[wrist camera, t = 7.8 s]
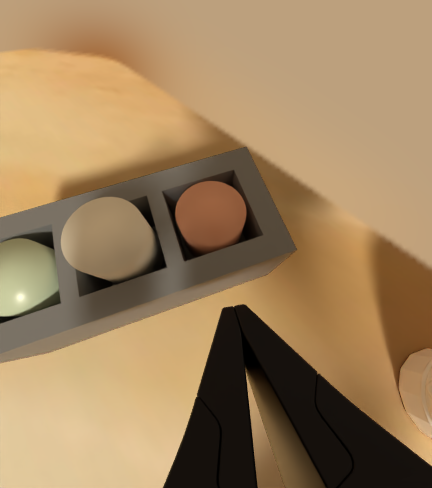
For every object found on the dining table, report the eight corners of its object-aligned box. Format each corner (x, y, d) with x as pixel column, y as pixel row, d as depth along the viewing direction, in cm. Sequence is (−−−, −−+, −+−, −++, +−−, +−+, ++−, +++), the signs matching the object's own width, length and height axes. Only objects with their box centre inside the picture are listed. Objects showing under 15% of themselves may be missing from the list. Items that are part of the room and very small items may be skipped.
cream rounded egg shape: (171, 274, 15) (153, 257, 11) (109, 295, 15) (66, 286, 11) (155, 220, 17) (134, 187, 12) (98, 238, 16) (56, 210, 12)
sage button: (96, 304, 16) (52, 299, 12) (35, 325, 16) (-34, 328, 11) (87, 250, 17) (45, 228, 13) (30, 268, 17) (-32, 252, 13)
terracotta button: (247, 252, 17) (257, 231, 13) (194, 270, 17) (187, 254, 13) (228, 206, 19) (231, 173, 14) (178, 221, 18) (167, 192, 14)
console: (267, 274, 20) (297, 249, 13) (49, 352, 18) (-70, 378, 11) (236, 203, 23) (246, 146, 15) (40, 265, 21) (-61, 235, 13)
